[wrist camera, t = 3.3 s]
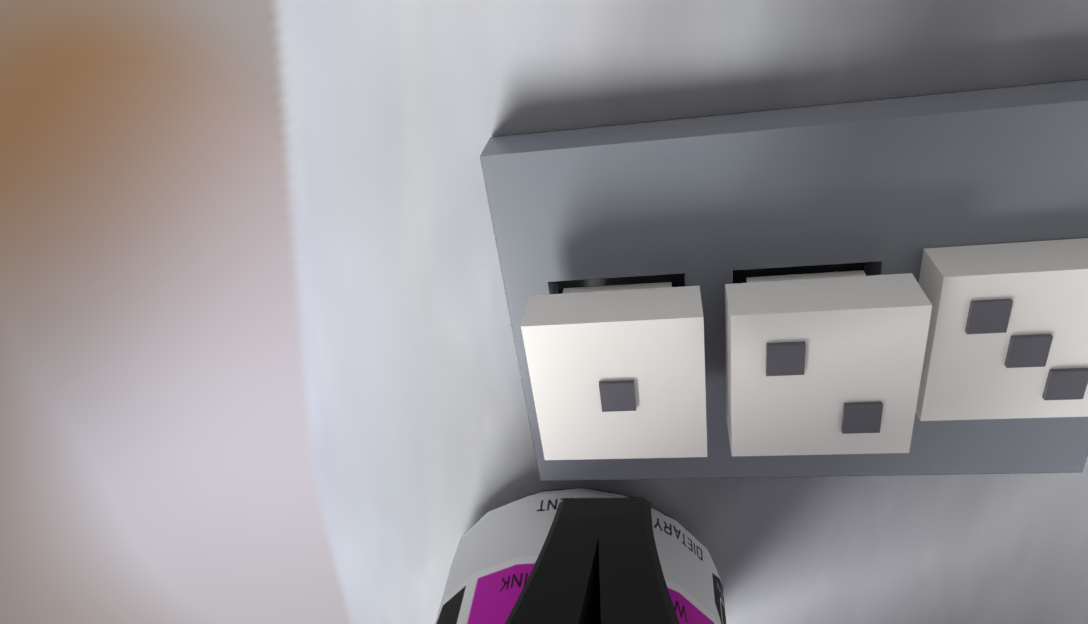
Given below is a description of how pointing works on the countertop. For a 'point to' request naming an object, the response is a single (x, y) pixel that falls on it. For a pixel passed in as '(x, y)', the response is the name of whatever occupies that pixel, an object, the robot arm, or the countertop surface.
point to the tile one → (618, 371)
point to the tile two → (824, 363)
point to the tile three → (1006, 331)
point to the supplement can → (516, 541)
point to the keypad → (797, 235)
